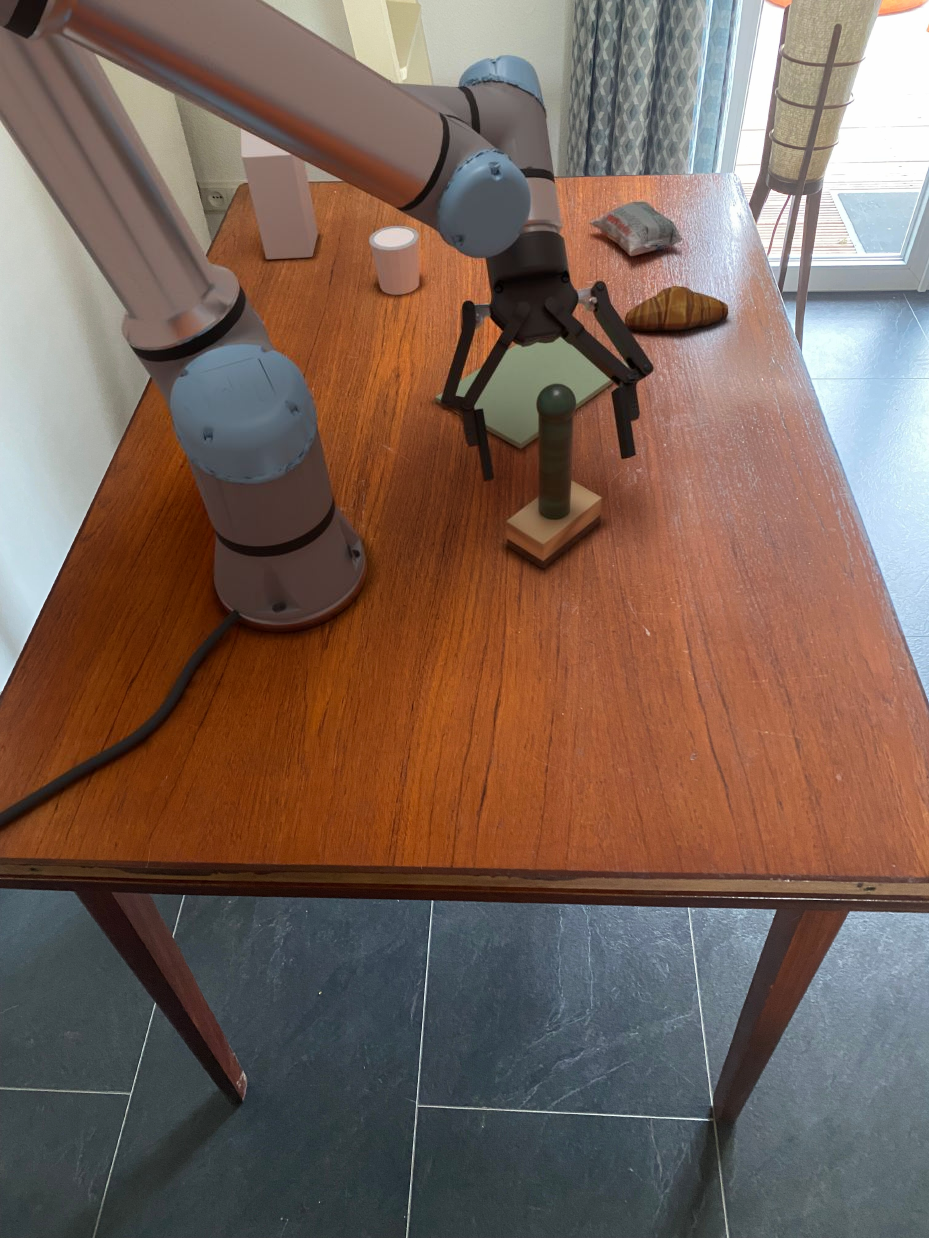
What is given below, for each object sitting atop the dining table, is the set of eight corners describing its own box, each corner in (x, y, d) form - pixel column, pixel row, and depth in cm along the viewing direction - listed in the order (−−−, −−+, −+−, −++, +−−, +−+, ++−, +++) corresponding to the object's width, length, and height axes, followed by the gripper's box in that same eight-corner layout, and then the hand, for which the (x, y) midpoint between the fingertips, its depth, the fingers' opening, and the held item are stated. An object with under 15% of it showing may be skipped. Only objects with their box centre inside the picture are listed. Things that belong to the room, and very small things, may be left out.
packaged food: (629, 270, 128) (632, 236, 124) (588, 235, 135) (590, 202, 131) (682, 255, 130) (686, 221, 126) (639, 221, 137) (642, 188, 133)
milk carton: (313, 258, 136) (286, 123, 121) (266, 260, 136) (234, 126, 122) (318, 235, 140) (293, 102, 126) (273, 237, 141) (243, 105, 126)
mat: (520, 449, 103) (520, 444, 103) (435, 402, 110) (435, 396, 110) (630, 370, 112) (630, 365, 111) (544, 331, 119) (544, 325, 118)
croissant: (719, 305, 120) (725, 269, 117) (733, 332, 116) (740, 297, 112) (618, 315, 120) (621, 280, 117) (629, 343, 116) (632, 308, 112)
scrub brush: (543, 569, 91) (543, 422, 77) (506, 546, 93) (501, 399, 80) (600, 523, 95) (610, 374, 81) (563, 502, 97) (568, 354, 84)
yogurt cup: (432, 278, 130) (428, 231, 124) (405, 301, 126) (399, 253, 121) (394, 268, 132) (388, 221, 127) (366, 290, 129) (358, 242, 123)
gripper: (642, 237, 89) (674, 452, 91) (391, 274, 88) (428, 492, 89) (664, 207, 82) (698, 443, 83) (391, 247, 80) (431, 486, 82)
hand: (559, 469), depth 86 cm, fingers open, 13 cm apart
